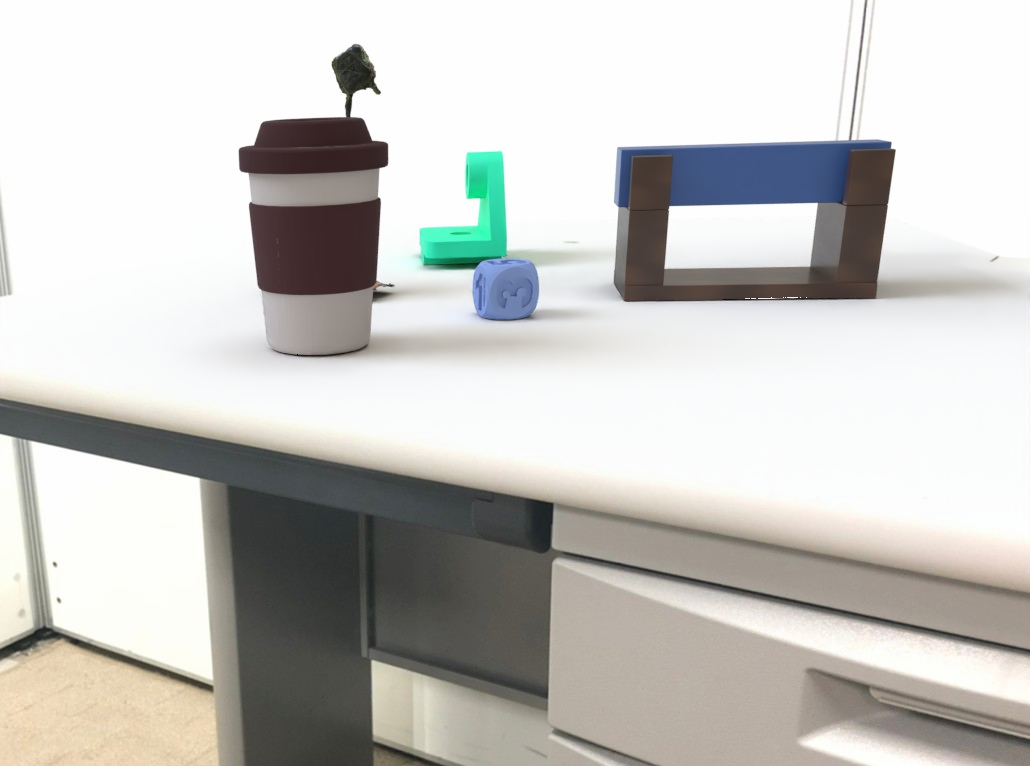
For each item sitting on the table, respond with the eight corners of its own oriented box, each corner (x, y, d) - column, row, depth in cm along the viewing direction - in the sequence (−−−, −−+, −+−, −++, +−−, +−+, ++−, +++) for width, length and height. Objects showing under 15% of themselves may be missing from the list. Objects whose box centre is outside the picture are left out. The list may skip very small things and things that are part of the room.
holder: (844, 280, 101) (863, 142, 97) (875, 298, 93) (897, 149, 89) (613, 283, 104) (621, 150, 100) (623, 301, 96) (633, 156, 92)
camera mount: (418, 253, 126) (419, 150, 122) (491, 250, 125) (494, 147, 122) (426, 270, 115) (426, 157, 111) (506, 267, 114) (509, 154, 110)
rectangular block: (870, 197, 96) (878, 139, 94) (883, 201, 92) (892, 141, 91) (613, 203, 99) (617, 147, 97) (617, 207, 96) (621, 149, 94)
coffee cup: (255, 333, 89) (244, 119, 83) (388, 330, 88) (387, 114, 83) (241, 363, 80) (229, 124, 74) (390, 359, 79) (389, 118, 73)
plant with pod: (302, 284, 110) (294, 48, 102) (408, 292, 103) (407, 41, 96) (247, 298, 104) (234, 48, 96) (355, 307, 97) (350, 41, 90)
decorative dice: (471, 312, 93) (472, 260, 92) (520, 308, 94) (522, 257, 93) (487, 321, 90) (488, 267, 88) (538, 317, 90) (540, 264, 89)
